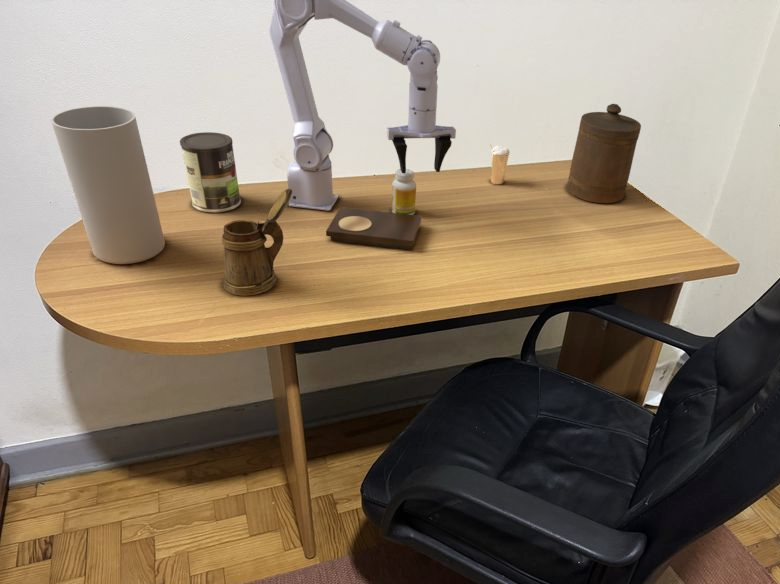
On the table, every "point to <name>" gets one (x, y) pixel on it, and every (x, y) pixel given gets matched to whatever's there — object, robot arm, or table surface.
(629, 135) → the wooden container
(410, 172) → the supplement bottle
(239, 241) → the wooden mug
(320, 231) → the table surface
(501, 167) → the milkshake
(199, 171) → the coffee can
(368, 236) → the stand
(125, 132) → the cylinder vase
